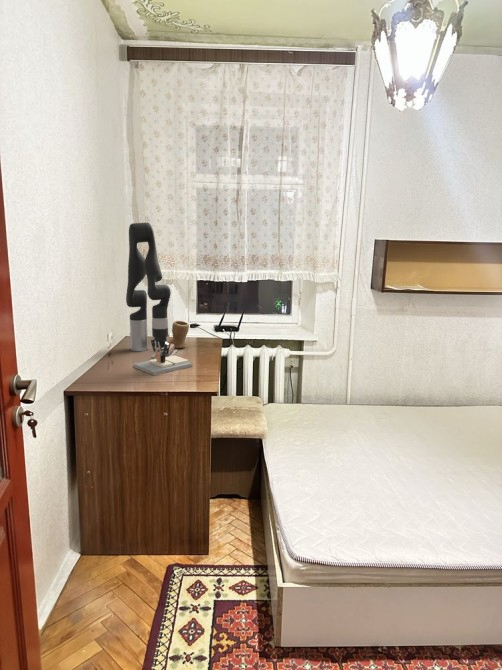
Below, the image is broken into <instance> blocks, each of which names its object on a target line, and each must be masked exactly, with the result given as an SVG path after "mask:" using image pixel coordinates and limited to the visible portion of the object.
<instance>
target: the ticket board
mask: <svg viewBox="0 0 502 670" xmlns="http://www.w3.org/2000/svg"><path fill="white" fill-rule="evenodd" d="M165 361H168V362H171V363H173V365H172V366H168V367H160V366H158V365H155V364H152V363H150V362H149V360H146V361H145V360H144V361H141V362H135V363H133V364H132V365H133V368H135V369H138V370H139V371H140V370H141V371H143V372H146V373H147V374H149V375H152V376H156V375H160V374H164V373H169V372H172V371H173V372H174V371H177V370H181V369H187V368H190V367H191V366H192V367H193V362H190V361H189V359H188V358H187V359H186V358H183V357H180V356H177V355H176V354H174V355H173V356H169V357H165Z"/></svg>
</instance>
